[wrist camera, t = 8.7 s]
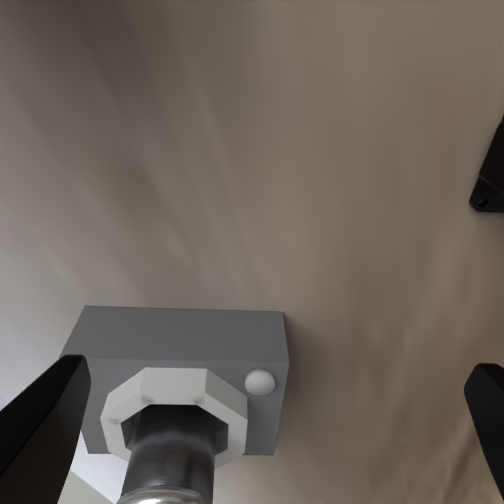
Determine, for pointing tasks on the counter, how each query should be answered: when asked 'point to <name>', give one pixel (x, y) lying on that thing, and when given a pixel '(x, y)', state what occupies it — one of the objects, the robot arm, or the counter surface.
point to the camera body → (183, 373)
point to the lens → (172, 456)
